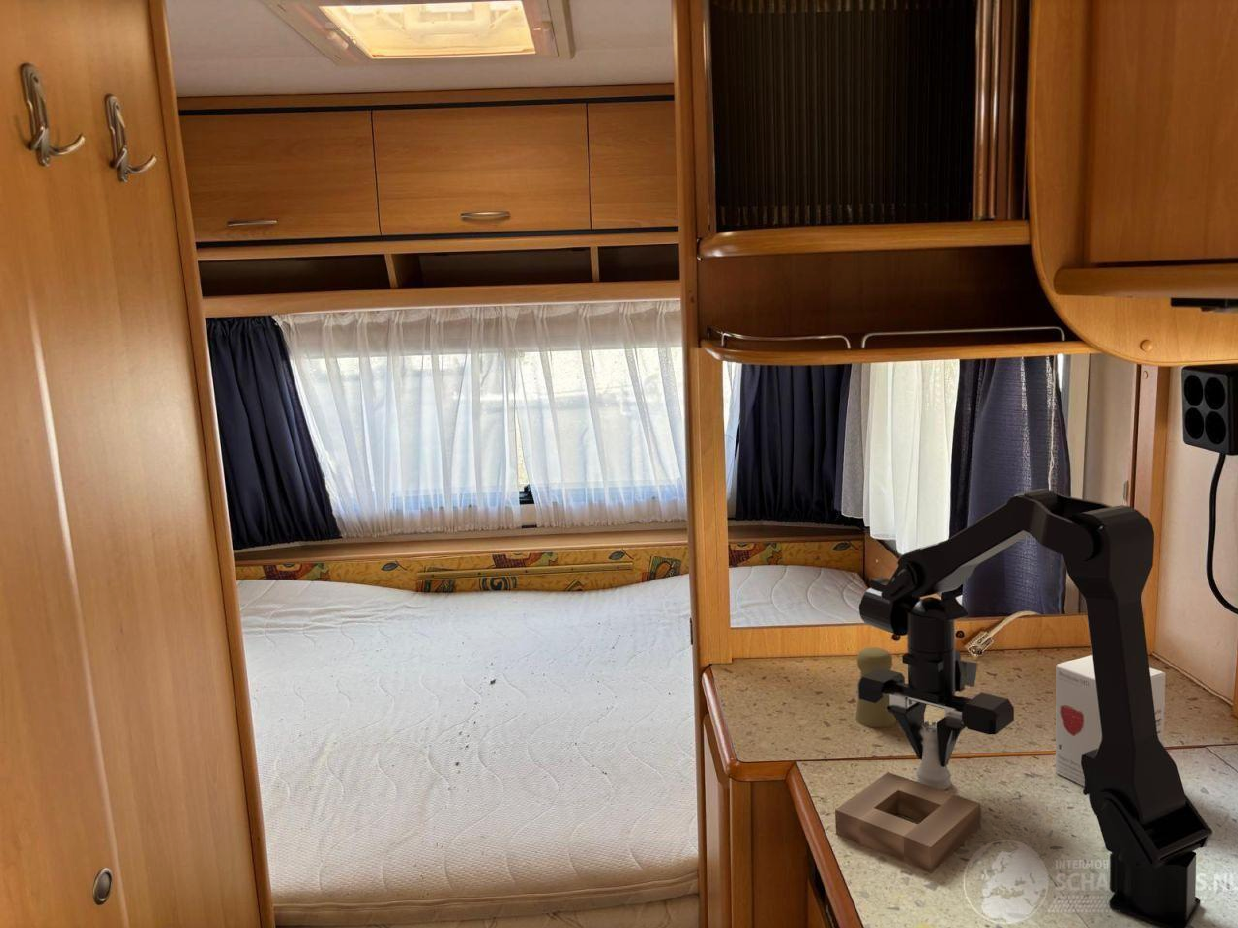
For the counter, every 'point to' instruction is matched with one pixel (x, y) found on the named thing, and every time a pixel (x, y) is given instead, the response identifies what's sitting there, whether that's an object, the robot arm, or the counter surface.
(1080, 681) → the supplement box
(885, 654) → the cork
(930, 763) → the rook chess piece
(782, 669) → the counter surface
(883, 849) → the walnut socket
